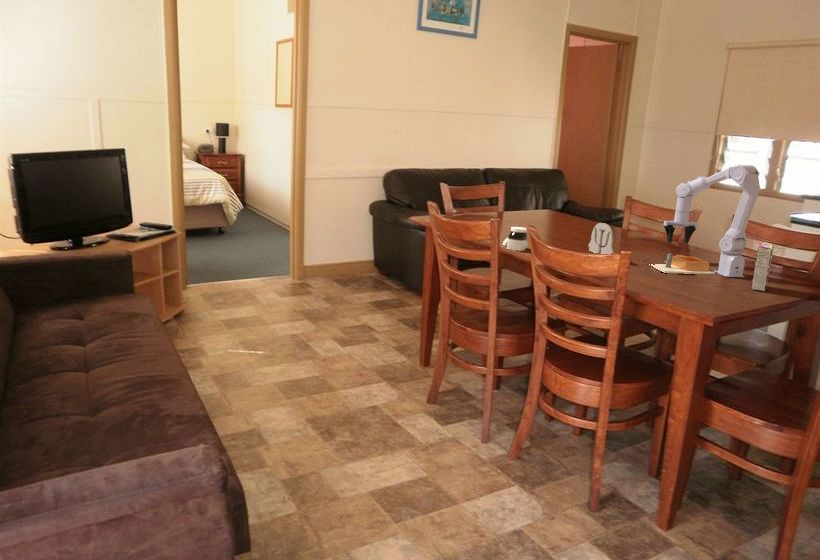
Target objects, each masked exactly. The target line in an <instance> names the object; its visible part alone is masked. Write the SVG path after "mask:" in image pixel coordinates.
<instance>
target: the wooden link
mask: <svg viewBox="0 0 820 560" xmlns="http://www.w3.org/2000/svg"><path fill="white" fill-rule="evenodd" d="M671 265H674V266H676V267H678V268H681V269H683V270H687V271H708V270H709V269H710V268H709V267H710V262H709V261H707V260H703V259H701V258H698V257H696V256H687V255H684V254H675V255H673V256H672V262H671Z"/></svg>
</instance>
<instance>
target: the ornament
mask: <svg viewBox="0 0 820 560" xmlns="http://www.w3.org/2000/svg"><path fill="white" fill-rule="evenodd" d="M590 237H591V238H590V239H591V240H590V241H589V243H588V248H589V249H588V252H589V251H591V252H593V253H600V254H611V253H614V254H615V251H614V246H613V244H614V233H613V229H612V228H611V226H610V225H609V224H607V223H604V222H599V223H596V225H595V226H594V227H593V229H592V232H591V236H590ZM601 246H602V247H601Z"/></svg>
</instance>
